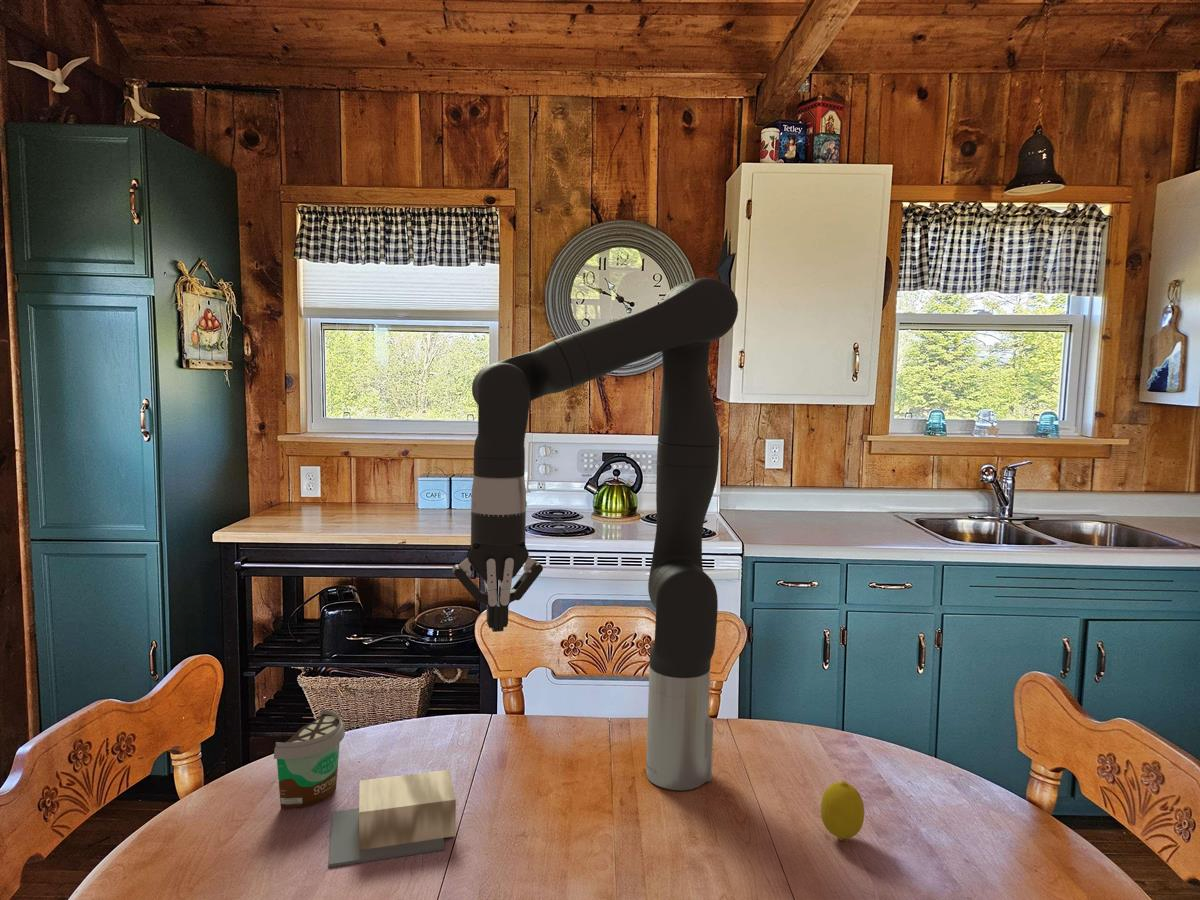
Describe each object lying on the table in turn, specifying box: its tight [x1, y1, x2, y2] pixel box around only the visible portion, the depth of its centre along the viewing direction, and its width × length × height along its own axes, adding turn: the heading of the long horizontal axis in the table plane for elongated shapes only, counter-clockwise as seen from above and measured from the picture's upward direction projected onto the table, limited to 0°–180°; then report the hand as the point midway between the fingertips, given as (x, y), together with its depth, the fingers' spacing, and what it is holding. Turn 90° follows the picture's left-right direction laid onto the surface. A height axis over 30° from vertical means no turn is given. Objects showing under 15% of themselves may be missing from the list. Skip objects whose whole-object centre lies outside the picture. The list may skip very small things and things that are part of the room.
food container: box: [273, 708, 346, 810], centre depth 110 cm, size 12×6×10 cm, turn 168°
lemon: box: [820, 780, 865, 840], centre depth 102 cm, size 6×6×8 cm
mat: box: [328, 807, 446, 868], centre depth 101 cm, size 14×12×1 cm
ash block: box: [358, 769, 457, 850], centre depth 102 cm, size 5×8×12 cm
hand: (496, 629), depth 108 cm, fingers closed
